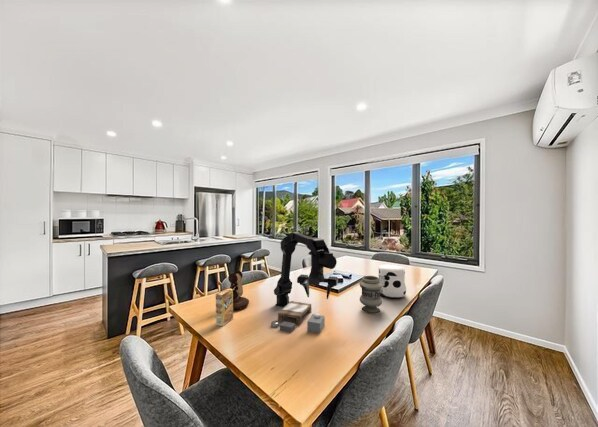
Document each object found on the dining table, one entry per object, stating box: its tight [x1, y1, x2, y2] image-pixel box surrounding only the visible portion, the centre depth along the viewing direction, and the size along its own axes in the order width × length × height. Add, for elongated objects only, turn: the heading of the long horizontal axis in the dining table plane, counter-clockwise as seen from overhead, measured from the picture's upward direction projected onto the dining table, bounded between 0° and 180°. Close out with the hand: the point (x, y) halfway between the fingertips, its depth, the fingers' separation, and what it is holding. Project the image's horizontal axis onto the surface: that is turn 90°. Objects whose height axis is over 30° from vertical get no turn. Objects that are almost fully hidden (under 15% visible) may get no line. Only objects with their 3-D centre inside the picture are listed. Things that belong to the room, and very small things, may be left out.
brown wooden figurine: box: [227, 269, 250, 311], centre depth 135 cm, size 15×15×20 cm
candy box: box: [215, 288, 234, 327], centre depth 116 cm, size 9×4×15 cm, turn 162°
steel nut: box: [270, 320, 280, 328], centre depth 112 cm, size 4×4×2 cm
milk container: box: [378, 264, 407, 299], centre depth 150 cm, size 17×17×18 cm
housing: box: [306, 312, 326, 334], centre depth 109 cm, size 6×8×6 cm
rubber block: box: [279, 320, 296, 333], centre depth 109 cm, size 6×4×2 cm, turn 66°
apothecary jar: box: [359, 275, 384, 315], centre depth 128 cm, size 12×12×18 cm
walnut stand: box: [277, 300, 312, 326], centre depth 122 cm, size 12×16×4 cm
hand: (317, 298), depth 111 cm, fingers open, 9 cm apart
